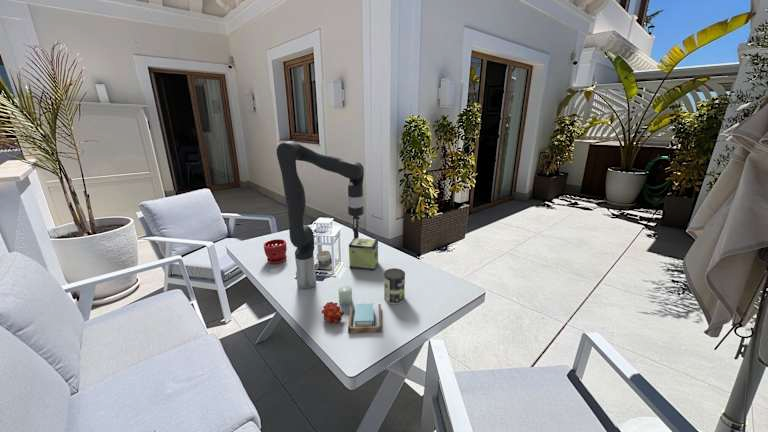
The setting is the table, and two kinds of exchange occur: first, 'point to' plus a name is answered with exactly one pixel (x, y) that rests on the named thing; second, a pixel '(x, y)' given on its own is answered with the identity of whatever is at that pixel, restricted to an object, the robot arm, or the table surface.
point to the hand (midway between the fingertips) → (356, 237)
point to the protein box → (363, 254)
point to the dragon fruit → (332, 312)
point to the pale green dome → (345, 295)
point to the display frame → (364, 328)
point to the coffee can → (394, 286)
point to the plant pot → (275, 251)
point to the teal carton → (364, 315)
